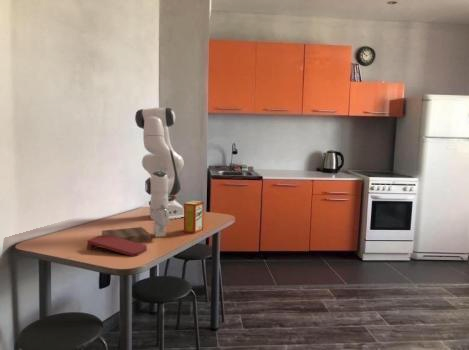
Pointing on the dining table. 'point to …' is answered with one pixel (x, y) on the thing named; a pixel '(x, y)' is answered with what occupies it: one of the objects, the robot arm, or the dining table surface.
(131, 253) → the carton
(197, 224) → the baking soda box
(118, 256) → the dining table surface
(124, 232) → the plinth
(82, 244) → the dining table surface
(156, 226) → the cream block
